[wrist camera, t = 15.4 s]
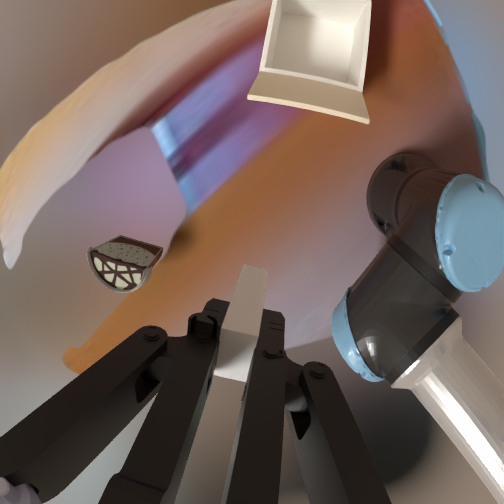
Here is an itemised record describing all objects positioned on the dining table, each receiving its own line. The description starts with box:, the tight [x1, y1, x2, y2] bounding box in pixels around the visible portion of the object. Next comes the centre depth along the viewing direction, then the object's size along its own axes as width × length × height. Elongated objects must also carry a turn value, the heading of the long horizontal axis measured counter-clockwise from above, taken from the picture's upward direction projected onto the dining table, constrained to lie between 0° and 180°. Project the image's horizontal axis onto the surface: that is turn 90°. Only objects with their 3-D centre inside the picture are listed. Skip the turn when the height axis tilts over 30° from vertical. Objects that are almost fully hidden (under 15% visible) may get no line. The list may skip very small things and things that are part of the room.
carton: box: [259, 0, 371, 92], centre depth 32 cm, size 13×15×10 cm
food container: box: [87, 235, 163, 293], centre depth 48 cm, size 12×6×10 cm, turn 76°
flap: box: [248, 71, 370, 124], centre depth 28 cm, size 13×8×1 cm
